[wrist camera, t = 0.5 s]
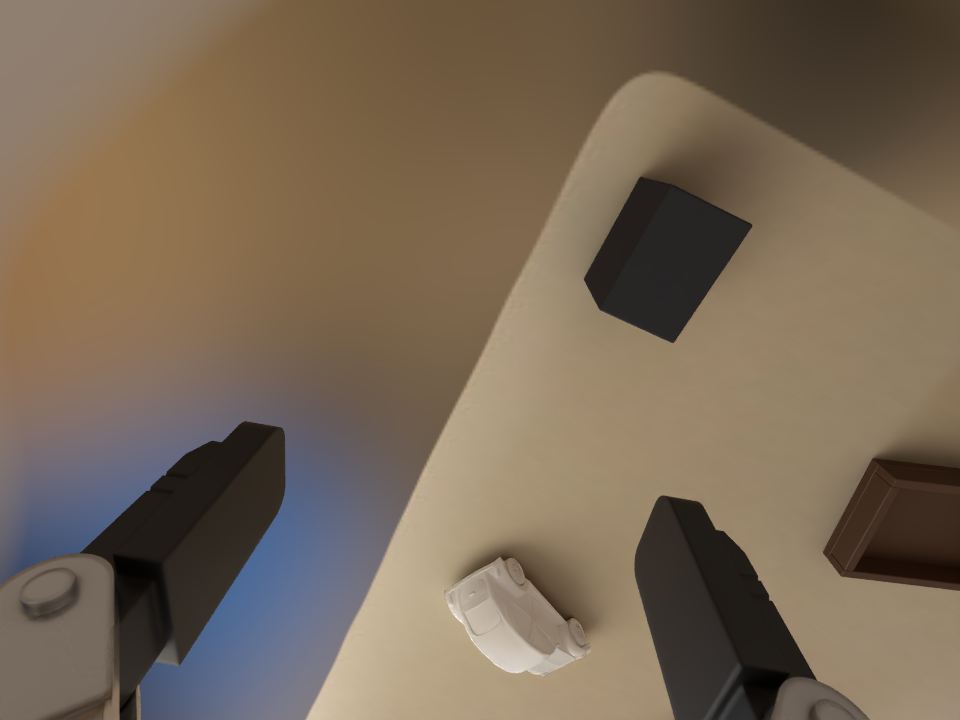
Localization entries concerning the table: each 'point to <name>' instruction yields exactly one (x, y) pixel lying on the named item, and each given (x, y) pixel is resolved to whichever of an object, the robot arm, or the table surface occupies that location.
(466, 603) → the car
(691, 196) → the black rectangular block
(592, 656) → the table surface
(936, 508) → the tray
